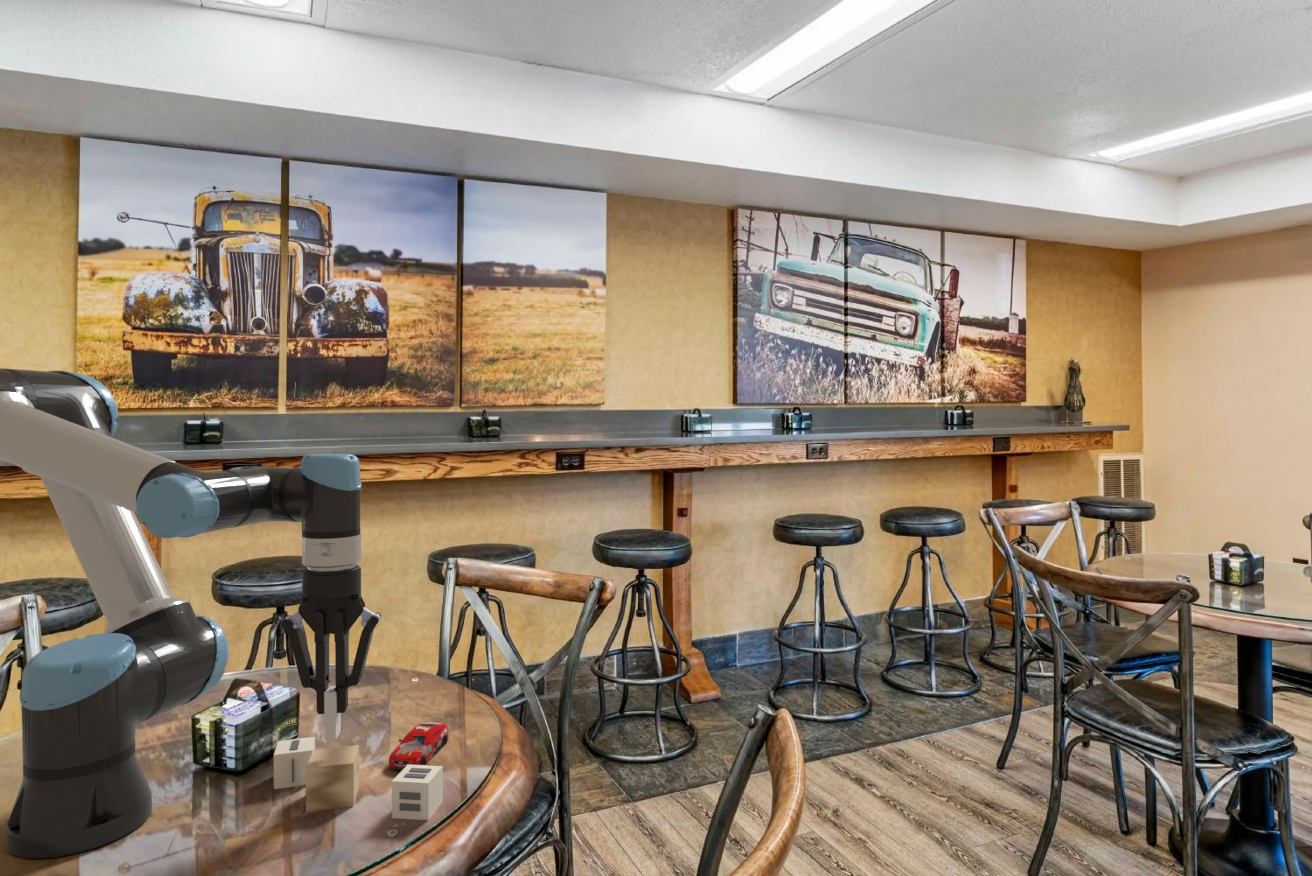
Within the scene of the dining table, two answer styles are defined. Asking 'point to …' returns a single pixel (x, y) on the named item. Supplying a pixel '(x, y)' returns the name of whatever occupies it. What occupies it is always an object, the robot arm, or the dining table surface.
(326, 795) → the plain block
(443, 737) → the race car
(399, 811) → the marked block
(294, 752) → the marked block
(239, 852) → the dining table surface
